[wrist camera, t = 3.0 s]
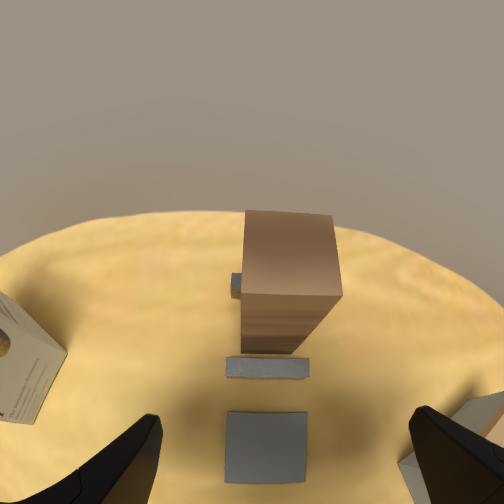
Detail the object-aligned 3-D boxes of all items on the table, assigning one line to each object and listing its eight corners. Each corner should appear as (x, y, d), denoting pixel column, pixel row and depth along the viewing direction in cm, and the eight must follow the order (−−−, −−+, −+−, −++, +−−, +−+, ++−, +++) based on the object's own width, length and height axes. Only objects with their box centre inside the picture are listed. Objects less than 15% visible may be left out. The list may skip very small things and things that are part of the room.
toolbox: (416, 513, 12) (476, 534, 5) (393, 462, 16) (460, 475, 8) (486, 446, 15) (548, 438, 7) (468, 395, 18) (534, 376, 11)
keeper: (303, 379, 20) (309, 376, 18) (226, 377, 20) (225, 375, 18) (300, 285, 24) (305, 275, 23) (232, 283, 24) (231, 272, 23)
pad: (303, 480, 16) (305, 482, 15) (225, 480, 16) (224, 482, 15) (305, 412, 19) (307, 412, 18) (227, 411, 19) (227, 412, 18)
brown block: (290, 354, 21) (342, 295, 11) (240, 353, 21) (240, 293, 11) (290, 308, 23) (331, 215, 13) (242, 306, 23) (245, 209, 13)
